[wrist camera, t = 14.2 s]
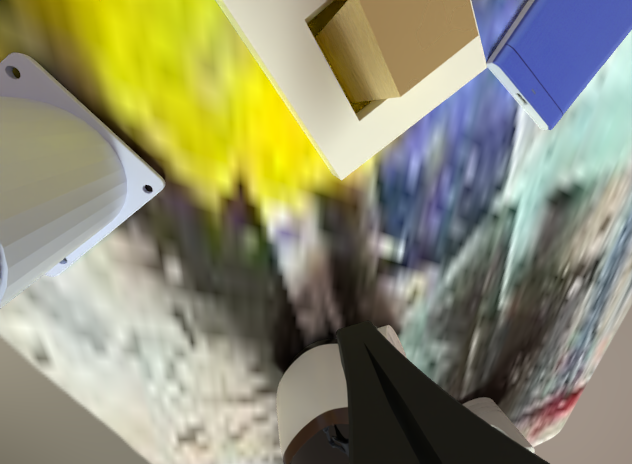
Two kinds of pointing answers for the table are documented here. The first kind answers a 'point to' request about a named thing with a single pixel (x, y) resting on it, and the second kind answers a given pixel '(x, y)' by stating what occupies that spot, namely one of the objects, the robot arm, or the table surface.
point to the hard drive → (558, 52)
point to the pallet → (323, 88)
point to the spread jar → (317, 404)
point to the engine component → (497, 419)
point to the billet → (393, 43)
